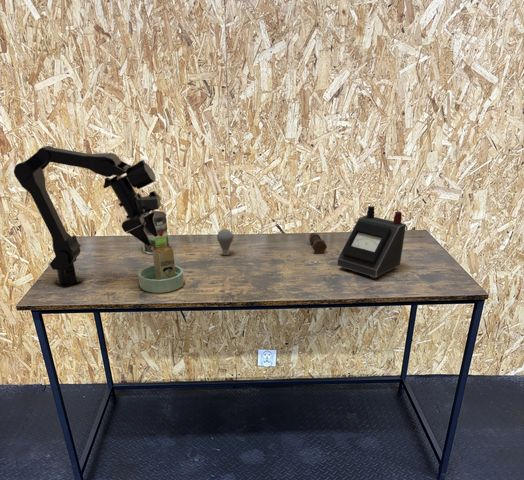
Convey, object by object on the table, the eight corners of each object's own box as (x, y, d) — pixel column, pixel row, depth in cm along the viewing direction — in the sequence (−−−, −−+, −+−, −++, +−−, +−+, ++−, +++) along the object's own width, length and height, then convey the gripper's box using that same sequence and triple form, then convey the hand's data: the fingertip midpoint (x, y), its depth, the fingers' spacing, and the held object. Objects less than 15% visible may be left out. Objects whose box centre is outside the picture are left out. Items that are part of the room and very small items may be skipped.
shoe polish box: (176, 284, 165) (173, 250, 159) (162, 288, 163) (158, 253, 156) (170, 280, 168) (166, 245, 162) (156, 283, 166) (152, 248, 160)
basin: (131, 285, 166) (129, 272, 163) (166, 273, 175) (164, 261, 172) (157, 297, 157) (156, 284, 155) (192, 284, 166) (191, 271, 164)
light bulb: (225, 251, 194) (224, 226, 189) (236, 254, 191) (236, 229, 186) (214, 255, 190) (213, 229, 185) (226, 258, 187) (225, 232, 182)
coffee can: (174, 250, 195) (171, 214, 188) (151, 256, 189) (147, 219, 182) (160, 244, 202) (157, 209, 194) (138, 249, 196) (133, 214, 188)
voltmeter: (336, 269, 178) (340, 213, 168) (361, 257, 188) (367, 204, 178) (374, 281, 168) (382, 223, 158) (399, 268, 179) (407, 213, 168)
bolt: (314, 245, 206) (321, 256, 193) (304, 239, 204) (310, 250, 191) (322, 233, 203) (329, 243, 190) (311, 227, 202) (318, 237, 189)
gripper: (141, 191, 141) (168, 240, 148) (156, 177, 157) (180, 222, 164) (108, 207, 144) (137, 254, 151) (127, 192, 160) (152, 235, 167)
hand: (153, 240), depth 158 cm, fingers open, 9 cm apart
